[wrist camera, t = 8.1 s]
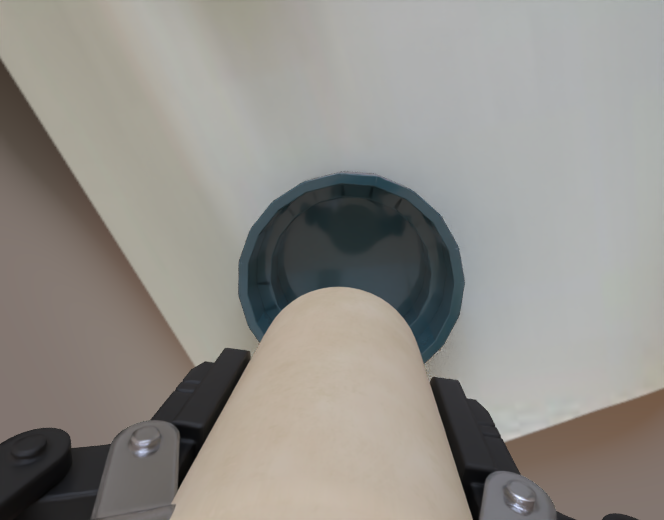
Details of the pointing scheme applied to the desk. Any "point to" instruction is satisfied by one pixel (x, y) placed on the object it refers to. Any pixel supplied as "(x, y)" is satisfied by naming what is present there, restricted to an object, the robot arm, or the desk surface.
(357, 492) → the candle
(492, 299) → the desk surface
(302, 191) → the bowl
